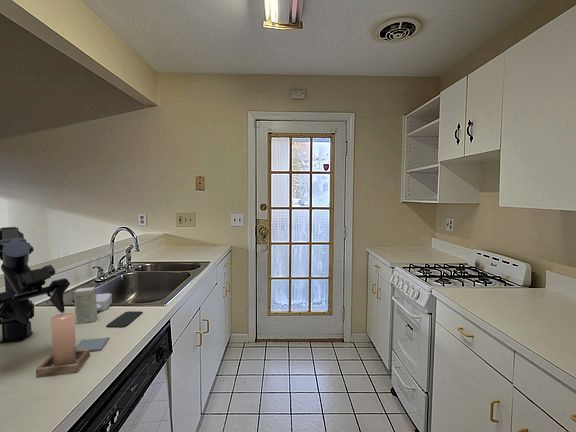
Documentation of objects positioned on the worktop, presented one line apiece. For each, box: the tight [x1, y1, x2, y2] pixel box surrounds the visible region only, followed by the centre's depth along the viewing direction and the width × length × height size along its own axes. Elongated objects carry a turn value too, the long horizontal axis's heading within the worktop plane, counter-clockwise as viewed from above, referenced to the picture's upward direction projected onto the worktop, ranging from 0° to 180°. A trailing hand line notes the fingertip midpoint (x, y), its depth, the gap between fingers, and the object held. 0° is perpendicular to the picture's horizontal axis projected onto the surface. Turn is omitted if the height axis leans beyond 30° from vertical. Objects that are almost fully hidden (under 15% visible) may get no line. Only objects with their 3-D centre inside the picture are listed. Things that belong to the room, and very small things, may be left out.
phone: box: [105, 310, 144, 329], centre depth 121 cm, size 7×1×15 cm
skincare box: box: [73, 286, 98, 325], centre depth 119 cm, size 6×4×12 cm
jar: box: [50, 312, 77, 366], centre depth 88 cm, size 5×5×14 cm
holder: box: [35, 349, 91, 378], centre depth 88 cm, size 10×10×2 cm
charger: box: [96, 292, 113, 312], centre depth 131 cm, size 5×9×15 cm
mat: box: [75, 337, 110, 353], centre depth 100 cm, size 8×8×1 cm
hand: (46, 317), depth 90 cm, fingers open, 9 cm apart
